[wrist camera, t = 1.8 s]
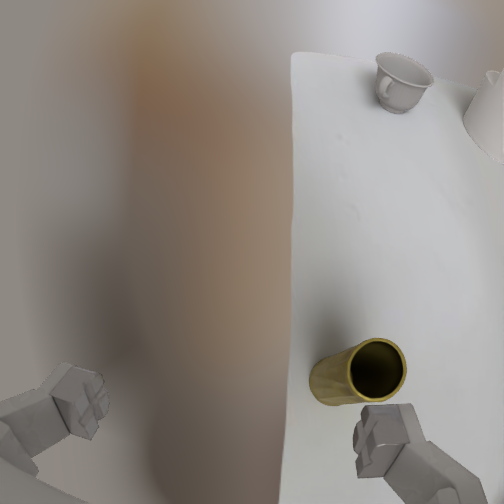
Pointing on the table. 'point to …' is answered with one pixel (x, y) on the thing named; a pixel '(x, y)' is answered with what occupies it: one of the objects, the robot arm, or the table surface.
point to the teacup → (400, 81)
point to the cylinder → (488, 116)
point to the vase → (360, 374)
